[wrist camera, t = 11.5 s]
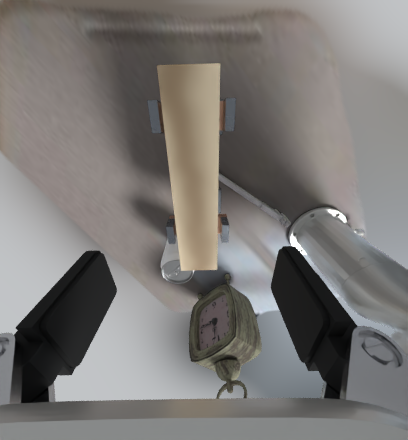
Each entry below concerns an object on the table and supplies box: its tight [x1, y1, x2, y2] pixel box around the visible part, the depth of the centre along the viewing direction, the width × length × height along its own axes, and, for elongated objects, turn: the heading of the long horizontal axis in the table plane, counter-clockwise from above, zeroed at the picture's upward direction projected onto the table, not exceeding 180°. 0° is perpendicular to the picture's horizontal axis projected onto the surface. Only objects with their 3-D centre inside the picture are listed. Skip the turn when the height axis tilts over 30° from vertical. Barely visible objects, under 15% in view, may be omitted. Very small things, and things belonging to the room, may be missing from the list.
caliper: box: [218, 173, 291, 228], centre depth 34 cm, size 20×1×6 cm, turn 58°
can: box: [161, 238, 195, 284], centre depth 36 cm, size 6×6×12 cm
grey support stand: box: [147, 98, 236, 244], centre depth 28 cm, size 9×20×13 cm, turn 1°
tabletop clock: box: [189, 274, 261, 399], centre depth 40 cm, size 14×9×25 cm, turn 137°
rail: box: [157, 63, 220, 271], centre depth 22 cm, size 5×22×6 cm, turn 2°
